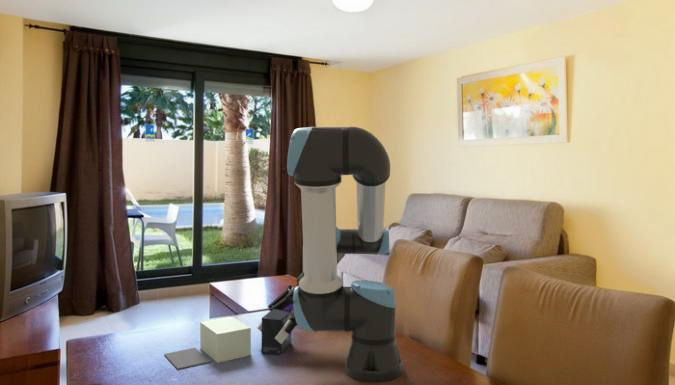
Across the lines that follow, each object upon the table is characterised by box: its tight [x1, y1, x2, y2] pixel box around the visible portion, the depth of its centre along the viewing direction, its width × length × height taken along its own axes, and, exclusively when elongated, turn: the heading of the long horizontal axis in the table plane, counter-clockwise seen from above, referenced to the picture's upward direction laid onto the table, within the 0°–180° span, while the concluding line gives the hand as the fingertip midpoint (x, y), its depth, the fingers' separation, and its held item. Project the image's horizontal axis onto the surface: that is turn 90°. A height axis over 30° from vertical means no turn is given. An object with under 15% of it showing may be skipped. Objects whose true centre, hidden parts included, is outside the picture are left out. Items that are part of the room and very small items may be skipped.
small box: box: [260, 309, 292, 355], centre depth 146 cm, size 11×6×10 cm, turn 168°
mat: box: [163, 347, 211, 371], centre depth 138 cm, size 13×9×1 cm
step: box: [199, 316, 252, 364], centre depth 143 cm, size 14×10×8 cm
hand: (268, 335), depth 145 cm, fingers closed on small box, 11 cm apart
